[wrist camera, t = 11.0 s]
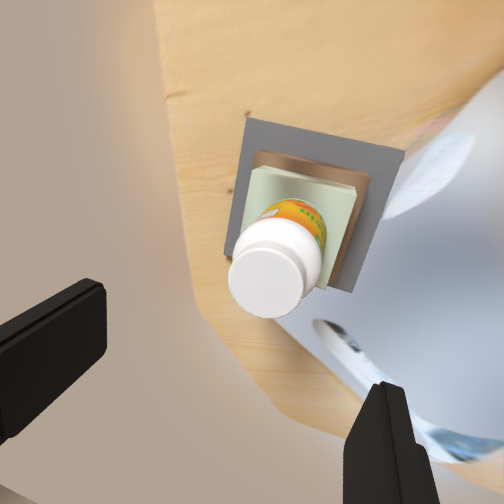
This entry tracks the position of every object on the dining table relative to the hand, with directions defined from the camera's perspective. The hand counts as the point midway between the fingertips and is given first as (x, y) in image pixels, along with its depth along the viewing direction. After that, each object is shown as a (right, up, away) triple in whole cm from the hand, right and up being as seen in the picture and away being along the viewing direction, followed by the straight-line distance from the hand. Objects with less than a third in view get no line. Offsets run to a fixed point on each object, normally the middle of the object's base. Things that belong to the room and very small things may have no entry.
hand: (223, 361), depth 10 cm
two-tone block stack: (+6, +8, +22) cm, 25 cm away
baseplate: (+6, +8, +22) cm, 25 cm away
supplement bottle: (+4, +5, +14) cm, 16 cm away
